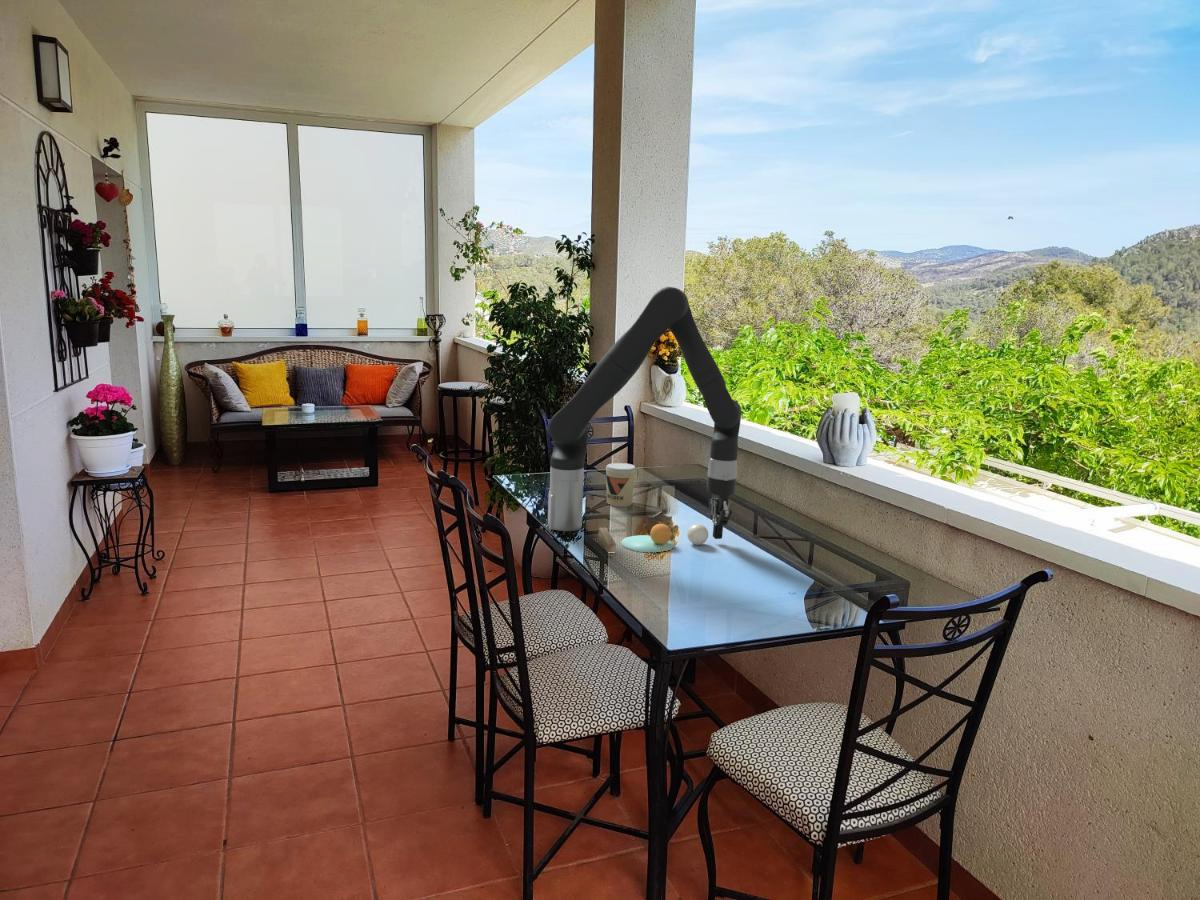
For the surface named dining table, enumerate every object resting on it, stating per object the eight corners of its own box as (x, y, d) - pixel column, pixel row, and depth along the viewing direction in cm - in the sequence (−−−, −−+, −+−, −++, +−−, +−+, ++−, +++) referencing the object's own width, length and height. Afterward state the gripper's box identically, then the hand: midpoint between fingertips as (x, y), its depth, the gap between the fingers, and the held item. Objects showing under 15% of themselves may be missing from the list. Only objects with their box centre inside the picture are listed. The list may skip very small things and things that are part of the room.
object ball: (674, 546, 206) (653, 548, 206) (668, 539, 212) (648, 541, 211) (673, 526, 205) (652, 528, 204) (667, 519, 210) (647, 522, 210)
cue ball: (714, 531, 207) (707, 550, 208) (706, 523, 212) (699, 541, 213) (696, 527, 205) (688, 546, 206) (688, 518, 210) (681, 537, 211)
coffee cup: (599, 504, 245) (600, 466, 242) (612, 497, 253) (614, 461, 250) (626, 509, 240) (628, 470, 238) (639, 502, 249) (641, 465, 246)
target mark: (627, 553, 200) (627, 552, 200) (616, 536, 214) (616, 535, 213) (680, 552, 202) (680, 551, 202) (667, 535, 216) (667, 535, 216)
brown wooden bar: (607, 553, 199) (608, 544, 199) (598, 536, 213) (599, 527, 212) (615, 553, 200) (615, 544, 199) (605, 536, 213) (606, 527, 213)
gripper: (701, 469, 213) (696, 530, 217) (716, 481, 200) (711, 546, 204) (727, 469, 214) (722, 530, 218) (744, 481, 202) (739, 545, 205)
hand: (717, 537), depth 211 cm, fingers closed
